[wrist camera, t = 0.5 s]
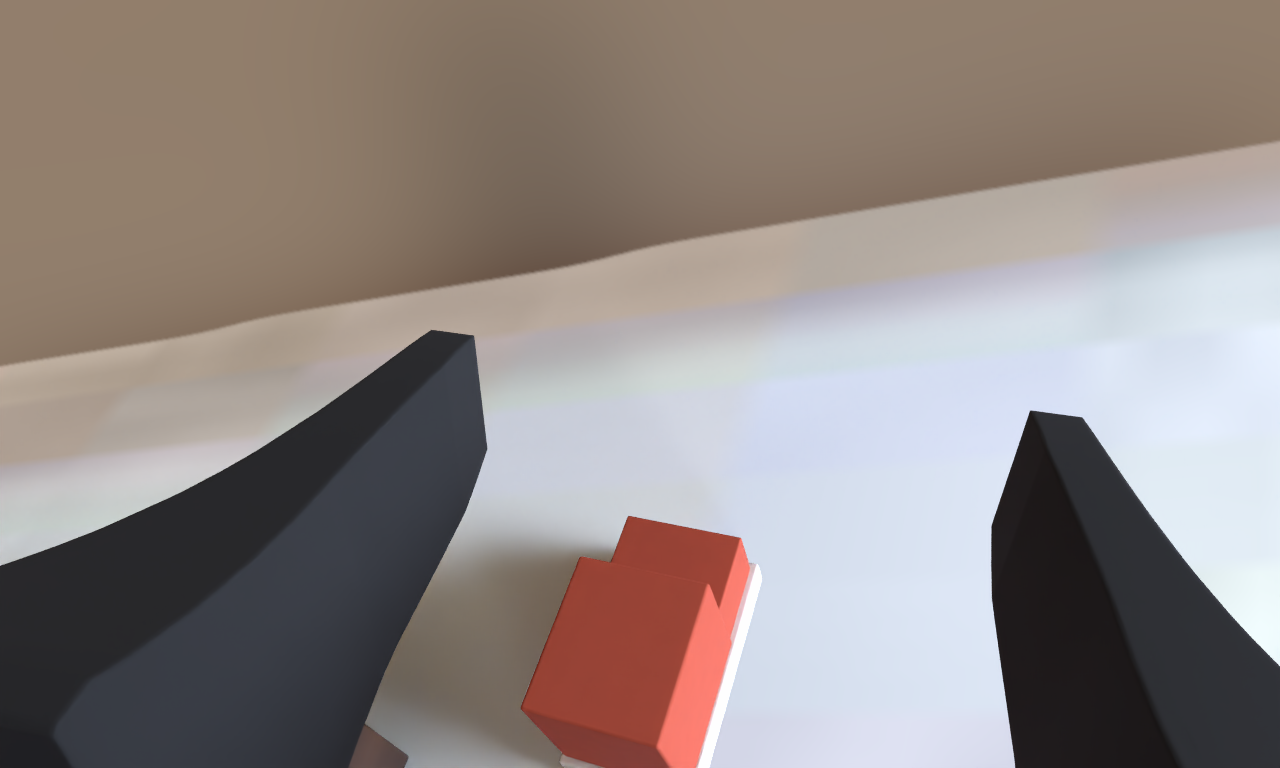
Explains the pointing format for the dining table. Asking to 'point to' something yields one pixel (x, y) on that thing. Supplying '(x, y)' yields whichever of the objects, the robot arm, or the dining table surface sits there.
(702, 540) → the stepped red block
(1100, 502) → the robot arm
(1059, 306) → the dining table surface
